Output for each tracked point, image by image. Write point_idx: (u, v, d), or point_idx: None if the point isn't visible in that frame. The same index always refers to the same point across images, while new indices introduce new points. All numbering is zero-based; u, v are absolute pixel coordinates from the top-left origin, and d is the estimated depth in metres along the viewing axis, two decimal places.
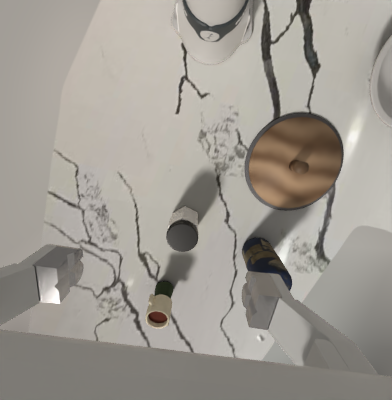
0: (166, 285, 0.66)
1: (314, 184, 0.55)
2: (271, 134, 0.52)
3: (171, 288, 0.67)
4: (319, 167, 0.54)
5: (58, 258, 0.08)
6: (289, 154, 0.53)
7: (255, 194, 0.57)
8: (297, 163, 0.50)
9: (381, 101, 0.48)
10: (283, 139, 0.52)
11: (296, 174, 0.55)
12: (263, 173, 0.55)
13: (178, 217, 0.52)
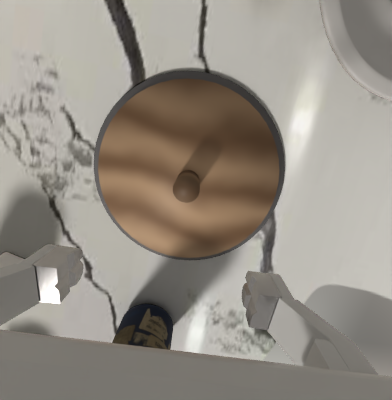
0: None
1: (231, 217, 0.29)
2: (129, 117, 0.25)
3: None
4: (238, 185, 0.27)
5: (58, 258, 0.08)
6: (173, 159, 0.26)
7: (127, 233, 0.31)
8: (177, 179, 0.23)
9: (356, 39, 0.21)
10: (155, 128, 0.25)
11: None
12: (130, 196, 0.28)
13: None
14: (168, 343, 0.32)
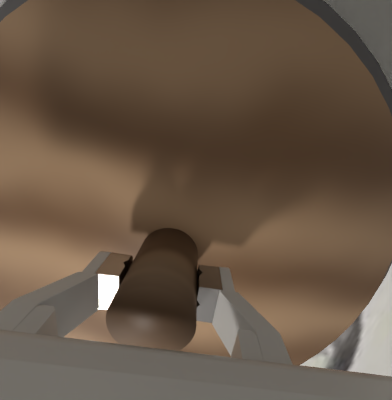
0: None
1: None
2: None
3: None
4: (292, 262, 0.11)
5: (116, 266, 0.08)
6: (130, 202, 0.10)
7: None
8: (123, 282, 0.07)
9: None
10: (75, 121, 0.09)
11: None
12: (34, 282, 0.12)
13: None
14: None
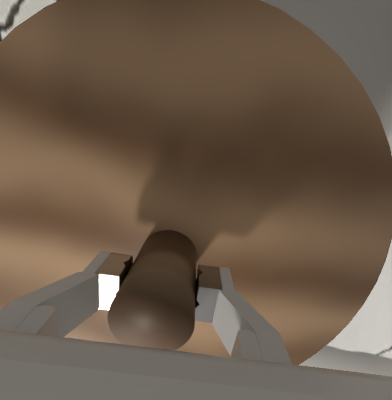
0: None
1: None
2: (3, 98, 0.09)
3: None
4: (288, 264, 0.11)
5: (117, 266, 0.08)
6: (131, 204, 0.10)
7: None
8: (125, 282, 0.08)
9: None
10: (79, 127, 0.09)
11: None
12: (35, 283, 0.12)
13: None
14: None
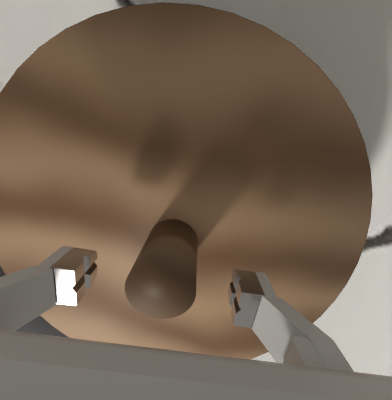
0: None
1: None
2: (29, 106, 0.11)
3: None
4: (279, 248, 0.13)
5: (75, 260, 0.08)
6: (140, 197, 0.12)
7: None
8: (137, 260, 0.09)
9: None
10: (94, 130, 0.11)
11: None
12: None
13: None
14: None
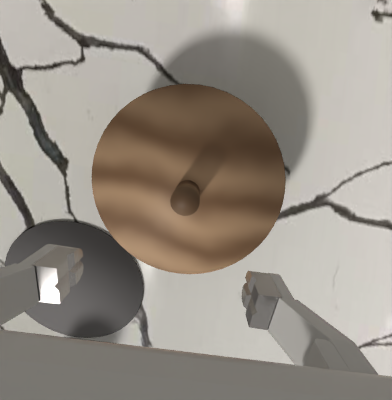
0: None
1: (235, 229, 0.27)
2: (123, 126, 0.23)
3: None
4: (241, 195, 0.25)
5: (58, 258, 0.08)
6: (171, 168, 0.25)
7: (35, 318, 0.41)
8: (174, 190, 0.22)
9: None
10: (151, 136, 0.23)
11: None
12: (126, 209, 0.26)
13: None
14: None
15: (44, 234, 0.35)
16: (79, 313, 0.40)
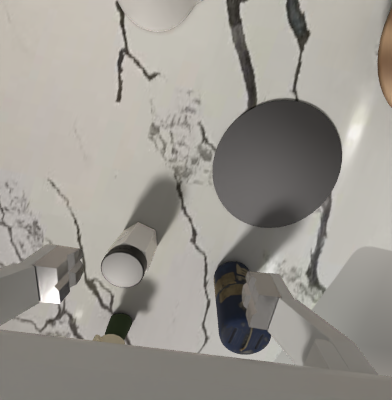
0: (121, 319, 0.53)
1: None
2: None
3: (128, 322, 0.54)
4: None
5: (58, 258, 0.08)
6: None
7: (228, 207, 0.44)
8: None
9: None
10: None
11: None
12: None
13: (121, 240, 0.39)
14: None
15: (265, 114, 0.38)
16: (271, 200, 0.44)
